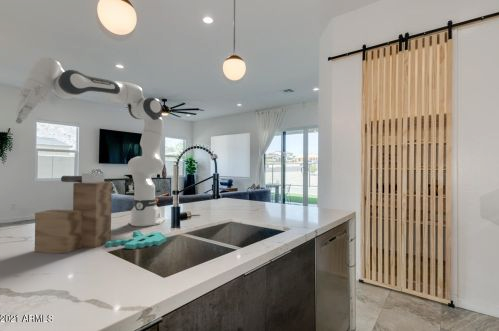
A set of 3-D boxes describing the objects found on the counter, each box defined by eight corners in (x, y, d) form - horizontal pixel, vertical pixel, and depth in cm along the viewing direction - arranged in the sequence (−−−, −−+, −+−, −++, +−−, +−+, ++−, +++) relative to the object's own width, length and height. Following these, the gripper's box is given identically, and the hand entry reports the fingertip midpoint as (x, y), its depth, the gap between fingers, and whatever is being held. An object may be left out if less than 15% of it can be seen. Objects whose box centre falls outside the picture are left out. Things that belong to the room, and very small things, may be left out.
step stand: (71, 239, 117) (71, 181, 117) (110, 240, 116) (111, 182, 116) (34, 252, 99) (35, 184, 100) (80, 254, 98) (81, 185, 98)
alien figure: (105, 247, 107) (149, 251, 103) (105, 242, 107) (149, 245, 103) (136, 235, 127) (173, 238, 123) (136, 230, 127) (173, 233, 123)
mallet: (69, 181, 116) (70, 172, 116) (104, 182, 114) (104, 173, 114) (56, 182, 109) (56, 173, 109) (93, 183, 107) (93, 173, 107)
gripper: (50, 89, 104) (35, 119, 99) (38, 101, 117) (24, 128, 112) (31, 79, 99) (15, 111, 95) (21, 93, 112) (5, 121, 108)
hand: (20, 120), depth 103 cm, fingers open, 8 cm apart
